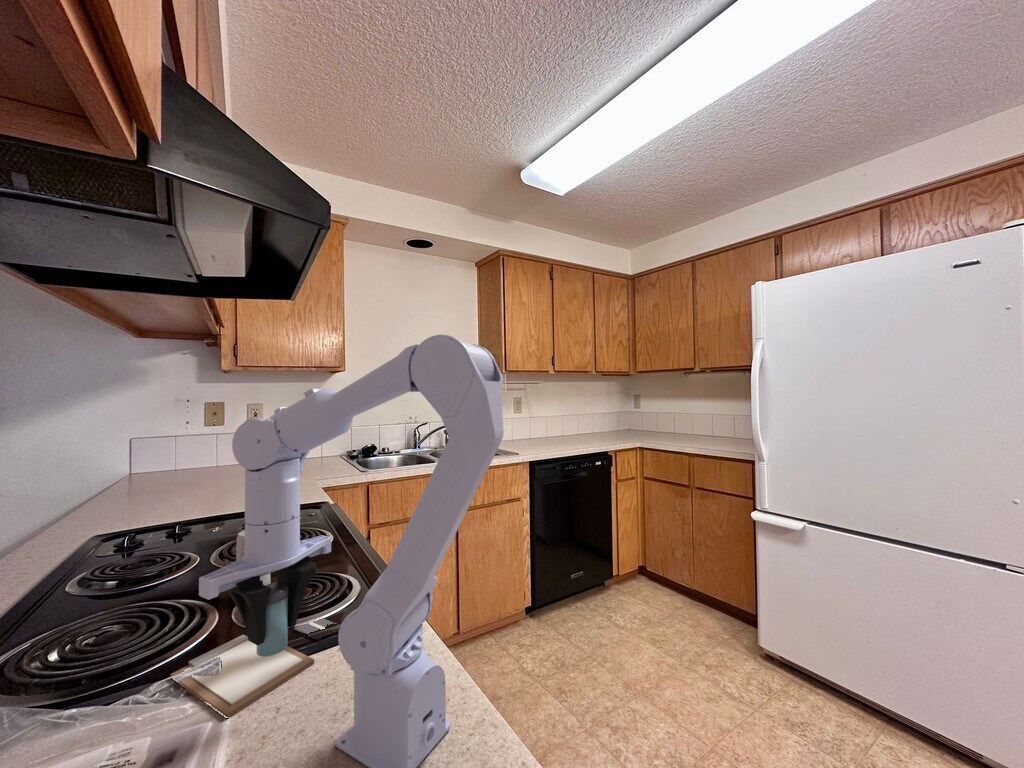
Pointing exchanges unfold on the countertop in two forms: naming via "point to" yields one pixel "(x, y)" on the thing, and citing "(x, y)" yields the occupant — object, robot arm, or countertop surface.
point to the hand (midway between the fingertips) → (272, 632)
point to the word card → (313, 626)
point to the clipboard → (242, 674)
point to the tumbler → (275, 620)
